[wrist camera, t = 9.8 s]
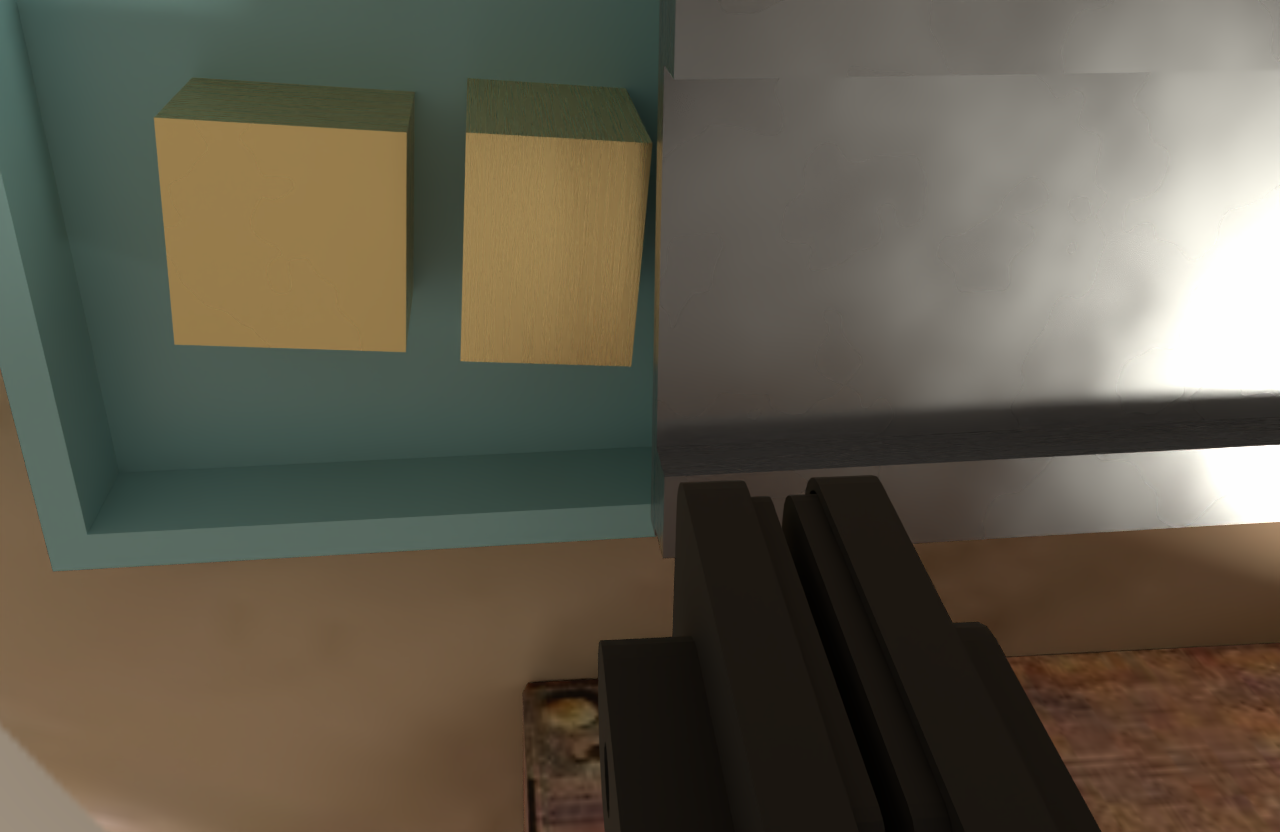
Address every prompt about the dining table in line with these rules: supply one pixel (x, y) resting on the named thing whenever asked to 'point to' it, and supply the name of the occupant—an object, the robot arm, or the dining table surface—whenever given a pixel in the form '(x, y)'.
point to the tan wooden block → (552, 223)
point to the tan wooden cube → (288, 214)
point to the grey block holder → (972, 259)
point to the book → (1074, 719)
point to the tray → (285, 377)
